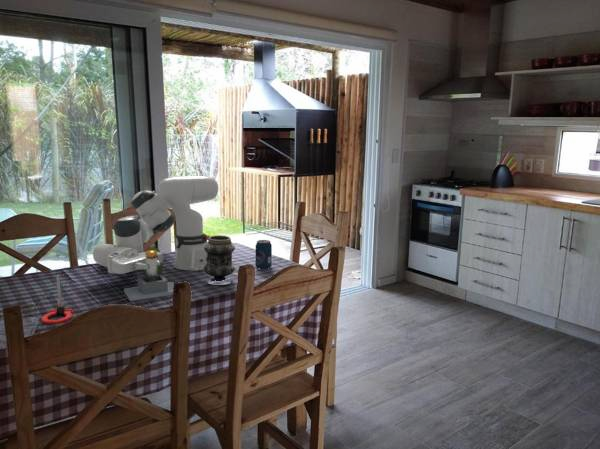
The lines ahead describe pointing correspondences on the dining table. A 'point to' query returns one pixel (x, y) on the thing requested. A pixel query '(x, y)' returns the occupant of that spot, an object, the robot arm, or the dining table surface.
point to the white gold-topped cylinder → (152, 265)
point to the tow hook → (58, 308)
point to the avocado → (157, 266)
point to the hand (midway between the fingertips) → (153, 265)
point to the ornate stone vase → (219, 257)
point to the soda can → (263, 254)
